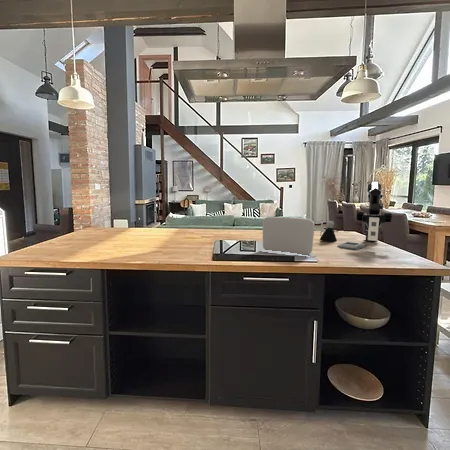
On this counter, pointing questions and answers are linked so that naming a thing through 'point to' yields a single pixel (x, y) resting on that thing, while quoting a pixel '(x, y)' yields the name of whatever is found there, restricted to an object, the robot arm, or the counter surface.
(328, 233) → the toy
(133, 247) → the counter surface
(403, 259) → the counter surface
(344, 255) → the counter surface
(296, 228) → the wireless router
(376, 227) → the cream rectangular prism
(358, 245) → the bracket plate
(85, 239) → the counter surface
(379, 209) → the robot arm
